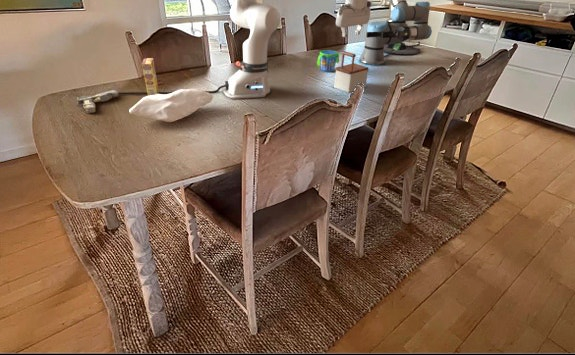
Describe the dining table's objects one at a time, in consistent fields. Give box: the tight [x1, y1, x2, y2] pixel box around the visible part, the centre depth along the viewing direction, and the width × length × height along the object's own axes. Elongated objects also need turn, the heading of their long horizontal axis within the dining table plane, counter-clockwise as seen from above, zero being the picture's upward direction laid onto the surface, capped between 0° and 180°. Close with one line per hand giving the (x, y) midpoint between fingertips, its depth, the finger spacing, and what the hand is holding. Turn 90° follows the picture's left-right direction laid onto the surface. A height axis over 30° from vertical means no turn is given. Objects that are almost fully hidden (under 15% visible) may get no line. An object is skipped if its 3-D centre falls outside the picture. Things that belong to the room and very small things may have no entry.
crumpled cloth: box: [129, 88, 214, 123], centre depth 147 cm, size 24×35×9 cm
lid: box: [334, 50, 369, 75], centre depth 179 cm, size 15×10×9 cm, turn 132°
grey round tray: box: [383, 42, 421, 55], centre depth 258 cm, size 35×35×9 cm
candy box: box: [141, 57, 160, 96], centre depth 163 cm, size 9×4×15 cm, turn 13°
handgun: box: [76, 89, 120, 114], centre depth 155 cm, size 3×18×15 cm
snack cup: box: [316, 49, 340, 73], centre depth 207 cm, size 16×10×10 cm
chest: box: [333, 69, 369, 93], centre depth 184 cm, size 14×10×9 cm
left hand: (350, 35), depth 170 cm, fingers open, 8 cm apart
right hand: (374, 34), depth 193 cm, fingers open, 13 cm apart
